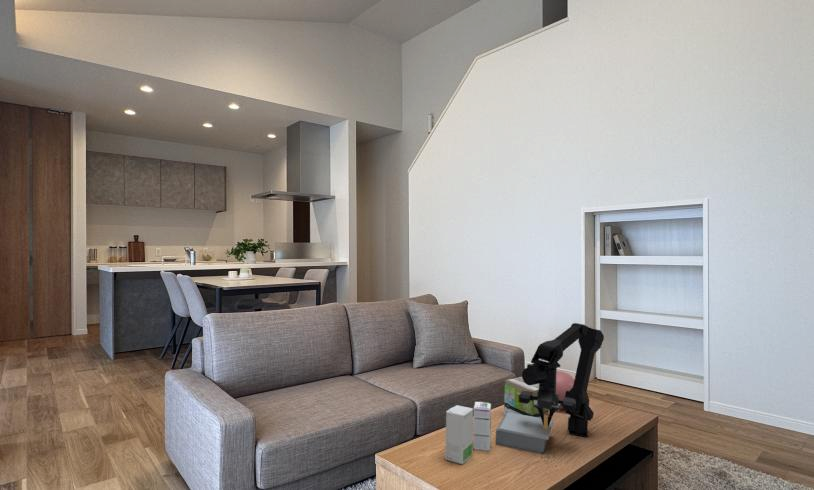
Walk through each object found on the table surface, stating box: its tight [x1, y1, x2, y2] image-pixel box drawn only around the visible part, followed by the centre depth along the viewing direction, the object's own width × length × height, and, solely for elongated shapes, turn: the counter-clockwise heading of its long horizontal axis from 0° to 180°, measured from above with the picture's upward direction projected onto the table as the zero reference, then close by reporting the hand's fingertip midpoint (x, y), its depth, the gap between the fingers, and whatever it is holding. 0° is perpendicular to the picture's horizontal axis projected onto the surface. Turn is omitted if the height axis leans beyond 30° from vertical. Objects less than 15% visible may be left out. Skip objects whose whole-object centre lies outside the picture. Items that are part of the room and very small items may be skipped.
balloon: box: [556, 370, 575, 410], centre depth 194 cm, size 15×20×15 cm
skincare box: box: [444, 404, 474, 465], centre depth 148 cm, size 8×7×16 cm
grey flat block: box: [495, 414, 548, 455], centre depth 163 cm, size 16×16×5 cm
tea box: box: [503, 376, 550, 418], centre depth 182 cm, size 15×10×15 cm, turn 33°
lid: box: [499, 411, 554, 441], centre depth 162 cm, size 16×16×6 cm
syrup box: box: [472, 401, 492, 452], centre depth 156 cm, size 6×6×14 cm
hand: (546, 424), depth 159 cm, fingers closed on lid
